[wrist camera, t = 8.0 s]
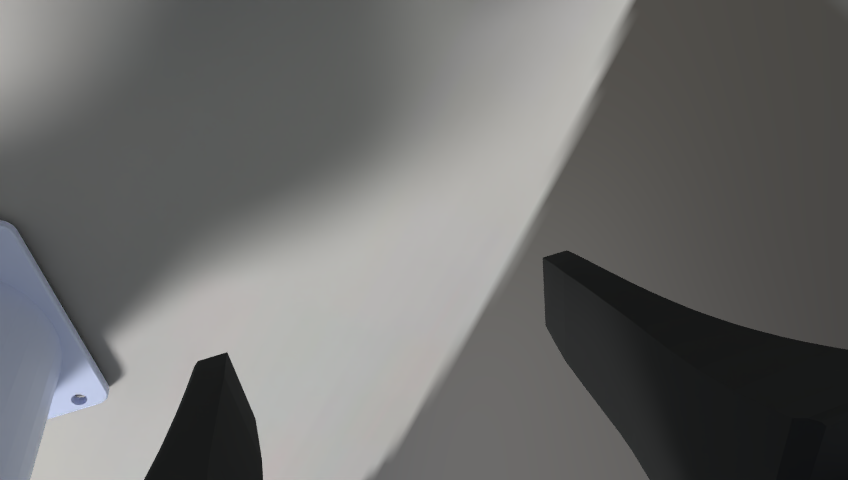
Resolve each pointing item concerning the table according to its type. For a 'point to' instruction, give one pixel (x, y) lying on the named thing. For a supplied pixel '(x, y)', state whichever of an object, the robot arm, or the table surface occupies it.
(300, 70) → the table surface
